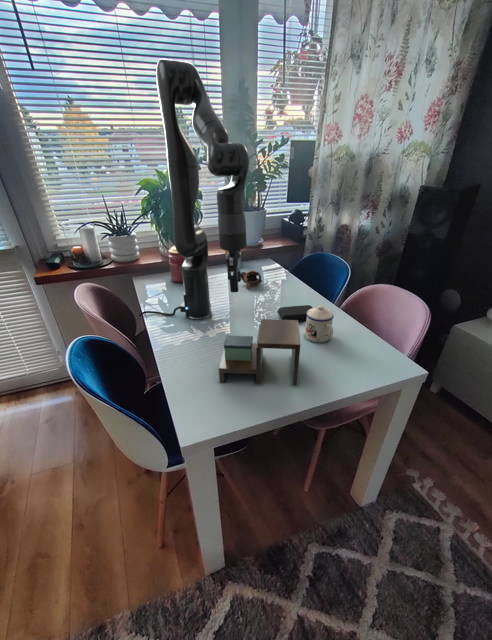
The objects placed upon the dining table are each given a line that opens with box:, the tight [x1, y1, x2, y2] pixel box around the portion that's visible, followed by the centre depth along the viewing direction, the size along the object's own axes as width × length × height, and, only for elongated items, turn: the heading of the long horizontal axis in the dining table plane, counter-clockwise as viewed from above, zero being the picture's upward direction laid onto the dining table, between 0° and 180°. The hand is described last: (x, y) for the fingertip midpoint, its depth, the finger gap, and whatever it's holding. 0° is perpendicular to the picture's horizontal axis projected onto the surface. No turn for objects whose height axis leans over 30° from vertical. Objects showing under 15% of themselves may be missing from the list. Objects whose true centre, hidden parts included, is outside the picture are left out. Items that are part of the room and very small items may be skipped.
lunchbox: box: [223, 335, 254, 361], centre depth 94 cm, size 8×6×5 cm
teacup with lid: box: [304, 304, 335, 343], centre depth 110 cm, size 12×9×12 cm
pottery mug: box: [240, 270, 263, 290], centre depth 154 cm, size 12×10×8 cm
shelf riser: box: [218, 318, 301, 386], centre depth 94 cm, size 22×14×14 cm, turn 86°
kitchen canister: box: [167, 245, 185, 283], centre depth 159 cm, size 13×13×18 cm
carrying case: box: [277, 304, 314, 322], centre depth 126 cm, size 11×3×15 cm
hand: (235, 286), depth 98 cm, fingers open, 8 cm apart
